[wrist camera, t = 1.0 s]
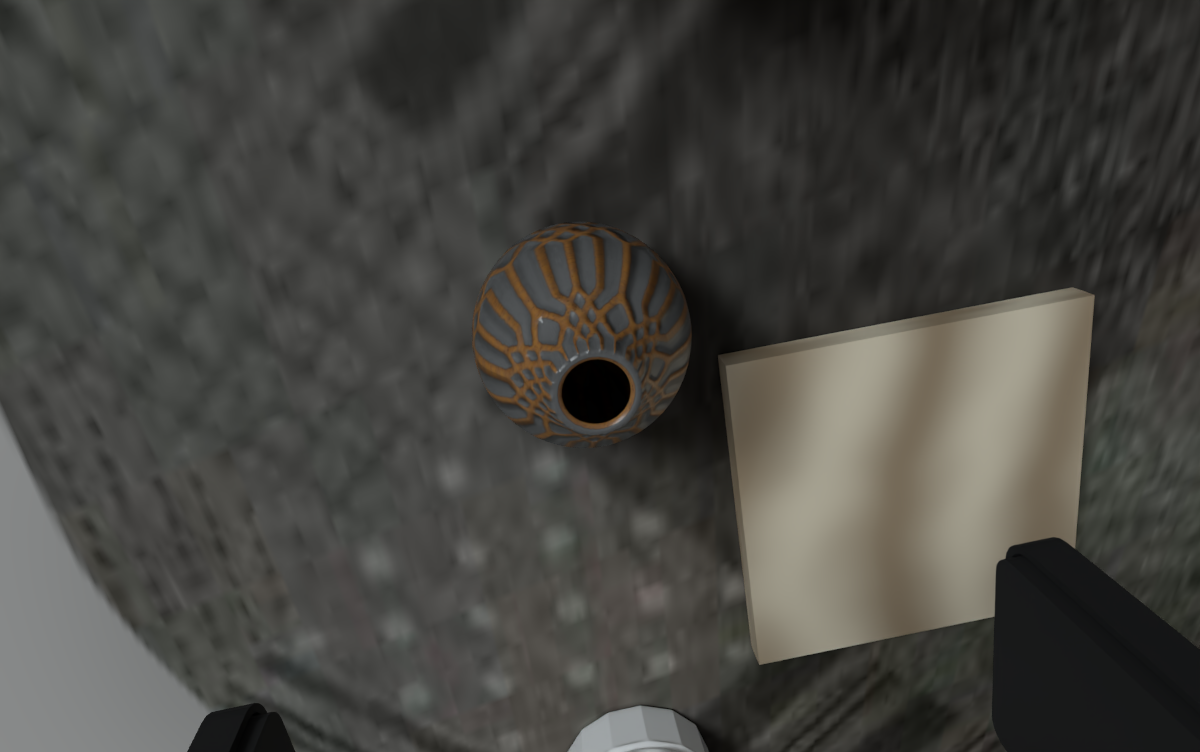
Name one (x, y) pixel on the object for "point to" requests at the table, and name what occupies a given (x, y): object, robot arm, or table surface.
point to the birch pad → (902, 466)
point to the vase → (581, 334)
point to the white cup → (640, 732)
